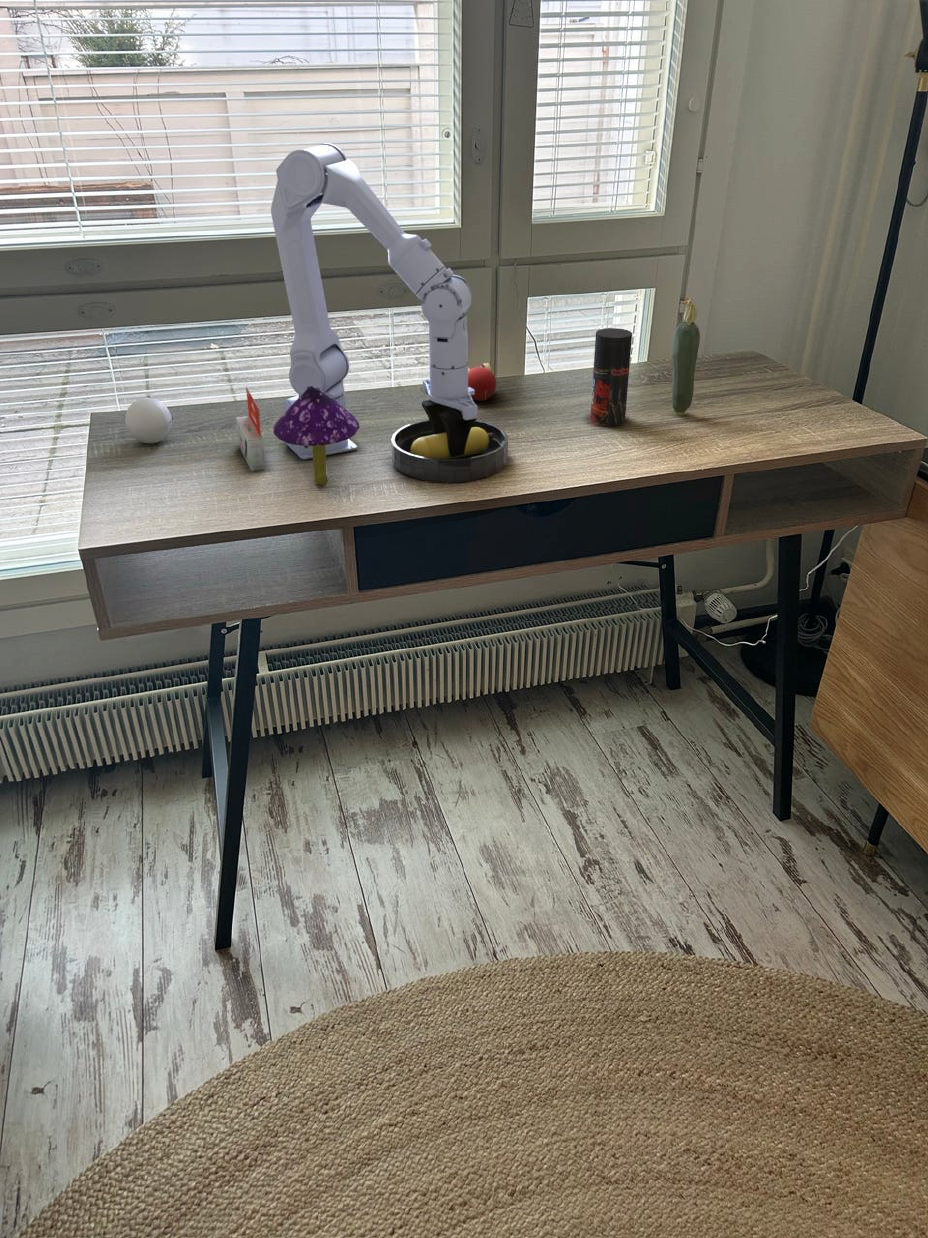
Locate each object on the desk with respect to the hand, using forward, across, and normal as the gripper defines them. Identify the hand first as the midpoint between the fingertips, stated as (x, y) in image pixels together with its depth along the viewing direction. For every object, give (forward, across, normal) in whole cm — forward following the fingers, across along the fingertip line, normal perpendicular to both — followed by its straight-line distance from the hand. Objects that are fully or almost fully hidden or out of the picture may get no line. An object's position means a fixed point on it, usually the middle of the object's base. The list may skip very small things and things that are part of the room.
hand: (450, 450), depth 149 cm
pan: (+2, 0, 0) cm, 2 cm away
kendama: (+2, +29, -19) cm, 35 cm away
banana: (+1, 0, 0) cm, 1 cm away
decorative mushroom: (+2, +1, +21) cm, 21 cm away
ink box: (+2, +16, +27) cm, 31 cm away
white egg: (+2, +32, +39) cm, 50 cm away
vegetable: (+2, -1, -44) cm, 44 cm away
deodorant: (+2, +3, -32) cm, 32 cm away
